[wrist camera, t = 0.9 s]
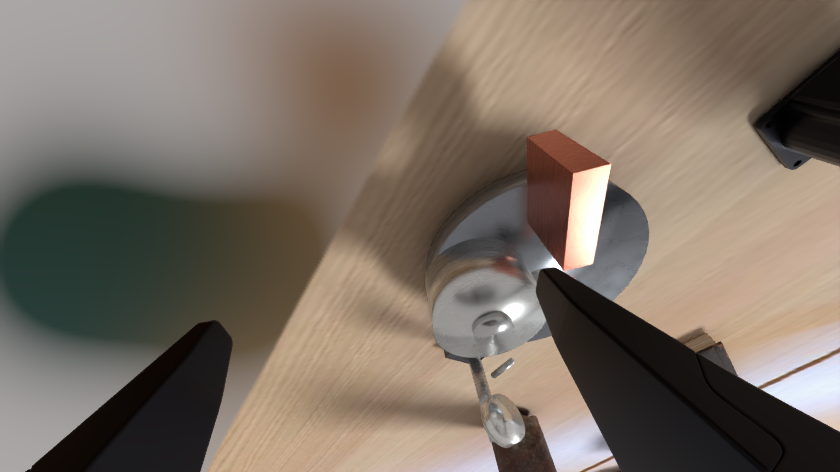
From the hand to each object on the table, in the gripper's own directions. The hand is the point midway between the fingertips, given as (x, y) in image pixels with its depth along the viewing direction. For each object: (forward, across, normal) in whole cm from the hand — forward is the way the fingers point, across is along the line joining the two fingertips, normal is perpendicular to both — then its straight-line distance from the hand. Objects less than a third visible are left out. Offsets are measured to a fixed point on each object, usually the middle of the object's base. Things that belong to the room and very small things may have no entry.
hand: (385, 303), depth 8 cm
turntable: (+11, -10, +10) cm, 18 cm away
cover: (+9, -5, +9) cm, 14 cm away
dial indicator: (+12, -7, +21) cm, 25 cm away
